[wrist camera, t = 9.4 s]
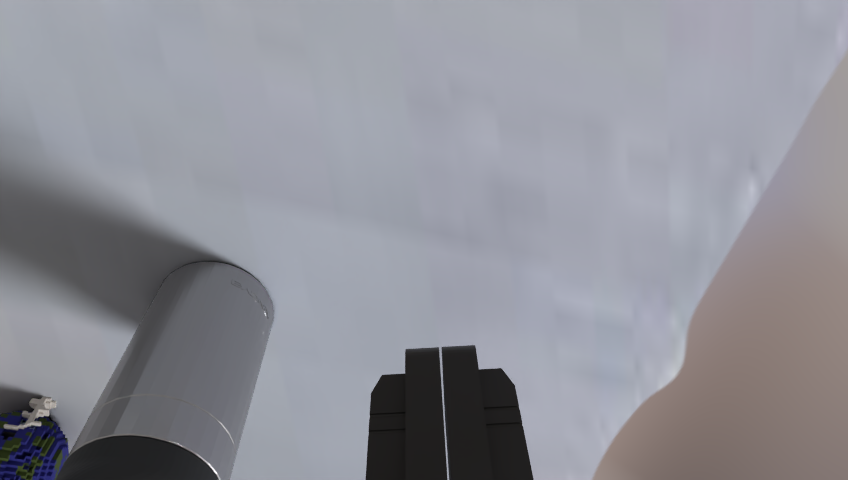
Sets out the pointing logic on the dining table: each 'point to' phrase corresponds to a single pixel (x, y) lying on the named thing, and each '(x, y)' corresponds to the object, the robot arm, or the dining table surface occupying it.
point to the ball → (31, 443)
